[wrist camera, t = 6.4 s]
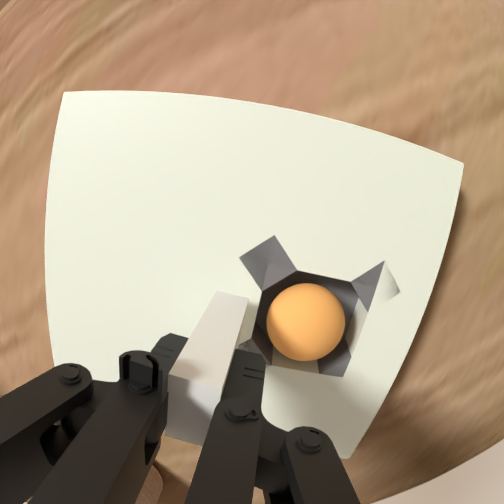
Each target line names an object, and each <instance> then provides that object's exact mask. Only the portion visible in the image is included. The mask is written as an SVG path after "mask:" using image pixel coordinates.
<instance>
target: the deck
mask: <svg viewBox="0 0 504 504" xmlns="http://www.w3.org/2000/svg"><path fill="white" fill-rule="evenodd" d="M463 167H464V164H463V163H461V162H459V161H456V160H454V159H452V158H449V157H447V156H444V155H442V154H439V153H437V152H434V151H432V150H429V149H427V148H424V147H421V146H419V145H416V144H413V143H410V142H407V141H405V140H402V139H399V138H396V137H393V136H390V135H387V134H384V133H380V132H377V131H374V130H371V129H367V128H364V127H360V126H357V125H353V124H350V123H346V122H342V121H339V120H335V119H331V118H327V117H323V116H319V115H314V114H310V113H306V112H301V111H297V110H292V109H287V108H282V107H277V106H271V105H266V104H260V103H254V102H248V101H241V100H234V99H227V98H219V97H211V96H202V95H192V94H181V93H167V92H149V91H77V92H64V94H63V99H62V103H61V107H60V112H59V117H58V122H57V127H56V132H55V138H54V144H53V150H52V157H51V164H50V172H49V181H48V192H47V205H46V222H45V282H46V299H47V312H48V322H49V331H50V339H51V347H52V354H53V360H54V366H55V367H56V366H58V365H61V364H63V363H75V364H80V365H82V366H84V367H86V368H87V369H88V370H89V371H90V373H91V376H92V379H93V380H100V381H106V382H117V381H118V380H119V379H120V378H119V356H120V355H121V354H123V353H124V352H128V351H131V350H142V351H147V352H151V350H152V349H153V347H154V346H155V345H156V343H157V342H158V341H159V339H160V338H161V337H163V336H165V335H167V334H169V333H173V334H176V335H180V336H183V337H187V338H189V337H190V336H191V334H192V332H193V330H194V329H195V327H196V325H197V324H198V322H199V320H200V318H201V317H202V315H203V313H204V312H205V310H206V308H207V306H208V305H209V303H210V301H211V300H212V298H213V296H214V294H215V293H216V291H219V292H224V293H228V294H232V295H237V296H241V297H246V298H249V300H248V304H247V309H246V314H245V318H244V323H243V328H242V332H241V337H240V341H239V346H238V349H239V350H244V351H248V352H253V353H258V354H262V356H263V358H264V360H265V362H266V369H265V378H264V387H263V396H262V404H261V411H262V413H263V416H264V417H265V418H266V420H267V421H269V422H270V423H271V424H272V425H274V426H276V427H278V428H280V429H283V430H285V431H288V432H289V431H290V430H292V429H294V428H296V427H301V426H308V427H314V428H316V429H319V430H321V431H323V432H324V433H326V434H327V435H328V436H329V438H330V439H331V440H332V442H333V444H334V446H335V449H336V451H337V453H338V455H339V457H340V458H341V459H349V458H350V456H351V455H352V453H353V452H354V450H355V449H356V447H357V446H358V444H359V442H360V441H361V439H362V438H363V436H364V434H365V433H366V431H367V429H368V428H369V426H370V424H371V422H372V421H373V419H374V417H375V416H376V414H377V412H378V410H379V408H380V407H381V405H382V403H383V401H384V399H385V397H386V395H387V394H388V392H389V390H390V388H391V386H392V384H393V382H394V380H395V378H396V376H397V374H398V372H399V370H400V367H401V365H402V363H403V361H404V359H405V357H406V355H407V352H408V350H409V348H410V346H411V343H412V341H413V339H414V336H415V334H416V331H417V329H418V327H419V324H420V322H421V319H422V316H423V314H424V311H425V309H426V306H427V303H428V300H429V298H430V295H431V292H432V289H433V286H434V283H435V280H436V277H437V274H438V271H439V268H440V265H441V261H442V258H443V255H444V251H445V248H446V244H447V241H448V237H449V233H450V229H451V225H452V221H453V217H454V213H455V208H456V204H457V199H458V194H459V189H460V184H461V178H462V173H463ZM301 283H312V284H317V285H320V286H322V287H324V288H326V289H328V290H329V291H331V292H332V293H333V294H334V295H335V296H336V297H337V299H338V300H339V302H340V303H341V305H342V308H343V311H344V315H345V328H344V332H343V335H342V338H341V340H340V341H339V343H338V345H337V346H336V347H335V348H334V349H333V350H332V351H331V352H330V353H329V354H327V355H325V356H324V357H322V358H319V359H317V360H313V361H298V360H293V359H291V358H288V357H286V356H285V355H283V354H282V353H280V352H279V351H278V350H277V349H276V348H275V346H274V345H273V343H272V342H271V340H270V338H269V335H268V332H267V323H266V322H267V314H268V311H269V308H270V306H271V304H272V302H273V301H274V299H275V298H276V297H277V296H278V295H279V294H280V293H281V292H282V291H284V290H285V289H287V288H288V287H291V286H293V285H296V284H301Z"/></svg>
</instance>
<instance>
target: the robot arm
mask: <svg viewBox="0 0 504 504" xmlns="http://www.w3.org/2000/svg"><path fill="white" fill-rule="evenodd" d="M248 300H249V298H246V297H241V296H237V295H232V294H228V293H224V292H219V291H216V293H215V294H214V296H213V298H212V300H211V301H210V303H209V305H208V306H207V308H206V310H205V312H204V313H203V315H202V317H201V318H200V320H199V322H198V324H197V325H196V327H195V329H194V330H193V332H192V334H191V336H190V337H189V338H187V337H183V336H180V335H176V334H173V333H169V334H167V335H165V336H163V337H161V338H160V339H159V341H158V342H157V343H156V345H155V346H154V347H153V349H152V350H151V352H147V351H142V350H131V351H128V352H124V353H123V354H121V355H120V356H119V378H120V379H119V380H118V381H117V382H106V381H100V380H93V379H92V376H91V373H90V371H89V370H88V369H87V368H86V367H84V366H82V365H80V364H75V363H63V364H61V365H58V366H56V367H54V368H52V369H50V370H49V371H47V372H45V373H43V374H42V375H40V376H38V377H36V378H34V379H33V380H31V381H29V382H27V383H26V384H24V385H22V386H20V387H18V388H17V389H15V390H13V391H11V392H9V393H8V394H6V395H4V396H2V397H0V504H23V503H24V502H25V501H27V500H28V499H29V498H31V497H32V496H33V497H32V498H31V499H30V501H29V502H28V504H135V502H136V500H137V498H138V495H139V493H140V491H141V489H142V486H143V484H144V482H145V480H146V477H147V475H148V473H149V471H150V469H151V466H152V464H153V462H154V460H155V457H156V455H157V453H158V451H159V448H160V444H161V435H162V433H163V431H164V429H165V435H166V436H169V437H172V438H175V439H179V440H182V441H186V442H189V443H193V444H197V445H200V446H203V448H202V451H201V454H200V457H199V460H198V463H197V467H196V470H195V473H194V476H193V479H192V482H191V485H190V489H189V492H188V495H187V498H186V501H185V504H252V497H253V490H254V486H255V487H257V488H260V489H262V490H263V494H264V499H265V503H266V504H360V502H359V499H358V497H357V495H356V493H355V491H354V488H353V486H352V484H351V482H350V480H349V477H348V475H347V473H346V471H345V469H344V466H343V464H342V462H341V460H340V457H339V455H338V453H337V451H336V449H335V446H334V444H333V442H332V440H331V439H330V438H329V436H328V435H327V434H326V433H324V432H323V431H321V430H319V429H316V428H314V427H308V426H301V427H296V428H294V429H292V430H290V431H289V432H288V431H285V430H283V429H280V428H278V427H276V426H274V425H272V424H271V423H270V422H269V421H267V420H266V418H265V417H264V416H263V413H262V411H261V404H262V396H263V387H264V378H265V369H266V362H265V360H264V358H263V356H262V354H258V353H253V352H248V351H244V350H239V349H238V346H239V341H240V337H241V332H242V328H243V323H244V318H245V314H246V309H247V304H248Z"/></svg>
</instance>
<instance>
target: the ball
mask: <svg viewBox="0 0 504 504" xmlns="http://www.w3.org/2000/svg"><path fill="white" fill-rule="evenodd" d="M266 323H267V332H268V335H269V338H270V340H271V342H272V343H273V345H274V346H275V348H276V349H277V350H278V351H279V352H280V353H282V354H283V355H285V356H286V357H288V358H291V359H293V360H298V361H313V360H317V359H319V358H322V357H324V356H325V355H327V354H329V353H330V352H331V351H332V350H333V349H334V348H335V347H336V346H337V345H338V343H339V341H340V340H341V338H342V335H343V332H344V328H345V315H344V311H343V308H342V305H341V303H340V302H339V300H338V299H337V297H336V296H335V295H334V294H333V293H332V292H331V291H329V290H328V289H326V288H324V287H322V286H320V285H317V284H312V283H301V284H296V285H293V286H291V287H288V288H287V289H285V290H284V291H282V292H281V293H280V294H279V295H278V296H277V297H276V298H275V299H274V301H273V302H272V304H271V306H270V308H269V311H268V314H267V322H266Z"/></svg>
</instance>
